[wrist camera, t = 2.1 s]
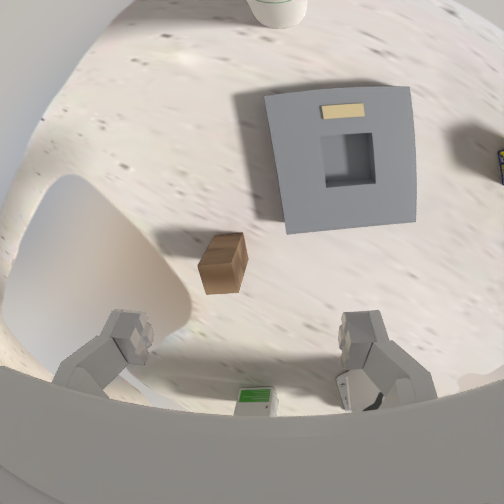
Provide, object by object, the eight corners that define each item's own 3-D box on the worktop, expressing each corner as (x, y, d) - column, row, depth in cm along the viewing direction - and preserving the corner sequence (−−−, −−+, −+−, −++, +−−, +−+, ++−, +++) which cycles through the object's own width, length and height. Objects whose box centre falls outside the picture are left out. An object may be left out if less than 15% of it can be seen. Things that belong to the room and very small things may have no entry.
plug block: (248, 258, 46) (238, 292, 39) (220, 261, 47) (206, 294, 40) (242, 232, 44) (231, 262, 37) (214, 235, 45) (197, 265, 38)
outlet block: (406, 211, 39) (416, 222, 35) (287, 222, 43) (286, 235, 39) (398, 87, 31) (410, 86, 27) (266, 97, 35) (263, 96, 31)
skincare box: (273, 385, 61) (266, 446, 47) (279, 401, 64) (273, 458, 50) (237, 387, 63) (225, 445, 49) (245, 402, 66) (235, 457, 52)
